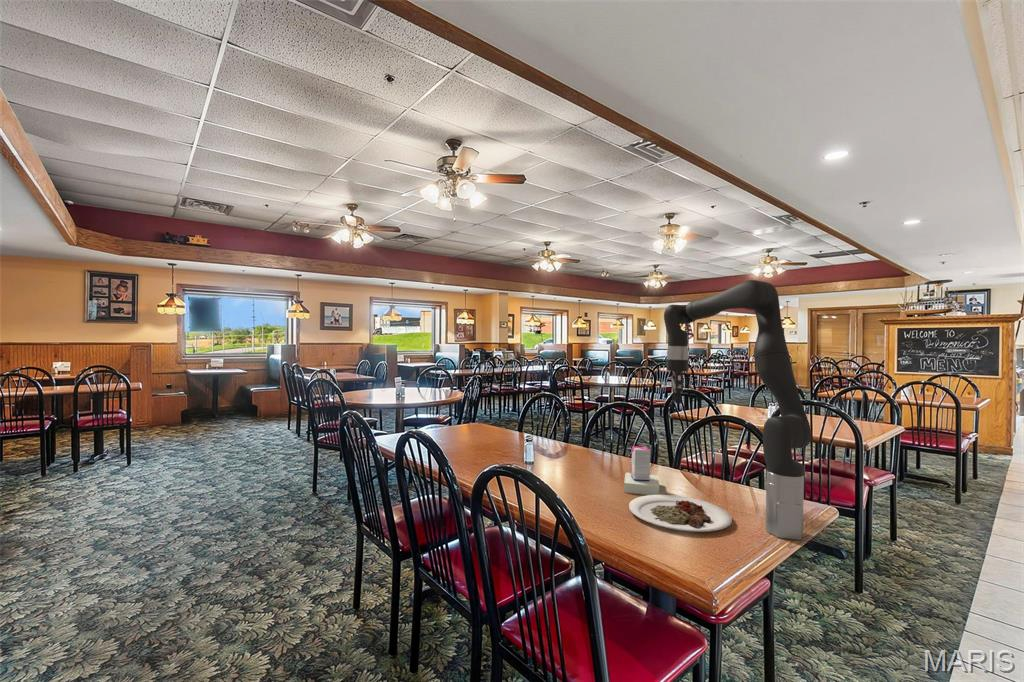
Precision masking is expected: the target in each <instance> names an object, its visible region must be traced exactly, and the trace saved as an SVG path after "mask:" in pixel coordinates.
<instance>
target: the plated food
mask: <svg viewBox="0 0 1024 682" xmlns="http://www.w3.org/2000/svg"><path fill="white" fill-rule="evenodd" d="M628 509H629V512H631V513H632V514H633V515H634V516H635V517H637V518H639V519H640V520H643V521H644V522H647V523H649V524H653V525H654V526H658V527H663V528H666V529H671V530H677V531H685V532H695V533H696V532H699V533H700V532H701V533H702V532H704V533H705V532H714V531H719V530H720V531H721V530H724V529H726V528H728V527H729V526H730V525H732V521H733V519H732V516H731V514H730V513H729V512H728V511H727V510H725V509H724V508H722V507H721V506H718V505H715V504H714V503H711V502H709V501H706V500H705V501H704V500H702V499H697V498H693V497H688V496H683V495H674V494H673V495H672V494H659V495H642V496H638V497H636V498H634V499H632V500H631V501H629V504H628Z"/></svg>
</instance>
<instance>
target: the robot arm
mask: <svg viewBox="0 0 1024 682" xmlns="http://www.w3.org/2000/svg"><path fill="white" fill-rule="evenodd" d="M733 309H745V310H749V311H753V312H754V314H755V317H756V321H757V327H758V328H757V329H758V331H757V337H756V340H755V343H754V347H753V357H754V363H755V366H756V367H755V368H756V371H757V375H758V377H759V378H760V380H761V381H762V383H763V384H764V385H765V387H766V388H767V389H768V391H770V393H771V394H772V395H773V397H774V398H775V400H776V403H777V405H778V408H779V412H780V416H779V415H778V416H770V417H768V418H767V420H766V421H765V422H764V425H763V427H762V429H763V430H762V444H763V447H762V449H763V459H764V462H765V464H766V465H765V466H766V482H765V483H766V485H765V487H766V489H765V530H766V532H768V533H769V534H771V535H773V536H775V537H776V538H780V539H781V538H782V539H789V540H790V539H791V540H798V541H802V539H803V537H804V498H805V497H804V494H805V493H804V490H805V487H804V486H805V467H804V464H802V463H801V462H799V461H798V460H797V461H796V460H794V458H793V453H792V452H793V451H792V449H793V450H795V449H803V448H806V447H808V446H809V444H810V443H811V441H812V429H811V425H810V422H809V419H808V417H807V416H808V415H807V414H806V411H805V408H804V405H803V402H802V400H801V396H800V393H799V389H798V385H797V382H796V379H795V374H794V370H793V366H792V361H791V356H790V351H789V349H788V348H789V347H788V345H787V340H786V336H785V331H784V328H783V323H782V322H783V321H782V316H781V307H780V299H779V294H778V291H777V289H776V287H775V286H774V285H773V284H771V282H770V283H769V282H767V281H763V280H762V281H761V280H756V279H755V280H754V279H749V280H745V281H742V282H741V283H739V284H736V285H734V286H732V287H729V288H727V289H726V290H724V291H720V292H718V293H715V294H713V295H709V296H706V297H703V298H699V299H694V300H692V301H689V302H688V303H687V304H685V305H684V304H669V305H667V307H666V308H665V309H664V313H663V320H664V321H663V322H664V325H665V328H666V329H665V330H666V332H667V351H666V371H668V372H672V373H671V376H670V380H671V390H672V401H674V403H675V404H679V405H680V404H682V402H683V401H682V399H683V398H682V397H683V396H682V394H683V392H684V379H685V378H684V375H683V373H686V372H689V354H690V353H689V347H688V346H689V343H688V342H689V334H688V331H686V330H683V329H682V326H681V325H687V324H690V323H693V322H696V321H698V320H703V319H709V318H711V317H714V316H717V315H718V314H720V313H721V312H724V311H726V310H727V311H728V310H733ZM682 372H683V373H682Z"/></svg>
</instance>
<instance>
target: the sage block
mask: <svg viewBox="0 0 1024 682" xmlns="http://www.w3.org/2000/svg"><path fill="white" fill-rule="evenodd" d="M623 481H624V482H623V483H624V484H623V486H624V487H623V490H624V491H623V492H624V493H625V492H626V493H628V494H635V495H636V494H637V495H644V496H647V495H660V482H659V475H658V474H650V481H634V480H633V479H632V477H631V472H625V474H624V480H623Z"/></svg>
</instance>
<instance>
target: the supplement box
mask: <svg viewBox="0 0 1024 682" xmlns="http://www.w3.org/2000/svg"><path fill="white" fill-rule="evenodd" d="M630 465H631V470H630V471H631V472H630V473H631V477H632V479H633V480H634V481H650V475H651V449H650V448H648V447H647V446H634V445H633V446H631V464H630Z"/></svg>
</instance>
